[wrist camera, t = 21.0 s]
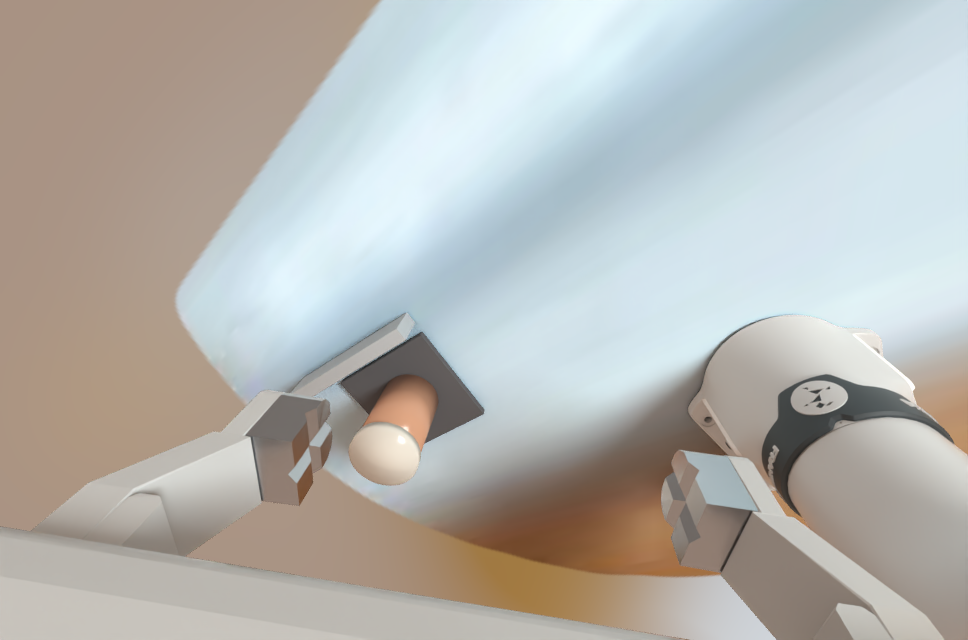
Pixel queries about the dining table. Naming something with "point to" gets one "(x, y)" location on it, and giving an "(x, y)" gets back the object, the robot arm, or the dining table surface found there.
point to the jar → (395, 431)
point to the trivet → (428, 365)
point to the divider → (356, 356)
